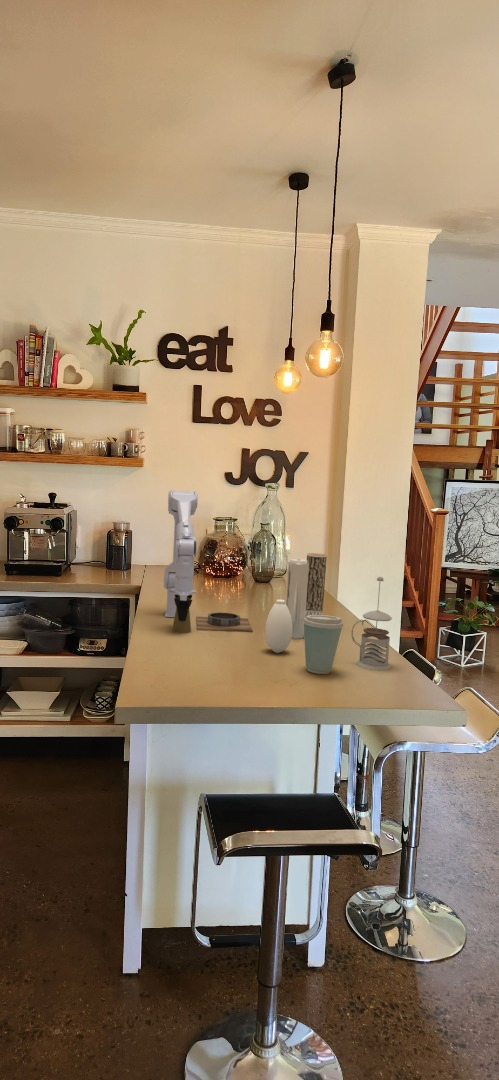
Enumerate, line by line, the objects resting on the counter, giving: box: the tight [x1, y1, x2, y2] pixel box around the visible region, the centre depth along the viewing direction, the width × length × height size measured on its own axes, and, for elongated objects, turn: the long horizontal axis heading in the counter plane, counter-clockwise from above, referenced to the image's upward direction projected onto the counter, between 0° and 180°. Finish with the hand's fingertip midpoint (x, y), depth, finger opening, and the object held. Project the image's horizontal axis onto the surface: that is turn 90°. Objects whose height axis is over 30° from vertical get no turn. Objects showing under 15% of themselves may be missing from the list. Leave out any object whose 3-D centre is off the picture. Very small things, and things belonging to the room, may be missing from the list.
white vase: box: [264, 591, 292, 654], centre depth 199 cm, size 8×8×18 cm
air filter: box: [285, 558, 309, 640], centre depth 219 cm, size 6×6×25 cm
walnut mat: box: [196, 615, 253, 633], centre depth 231 cm, size 18×18×1 cm
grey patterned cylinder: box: [305, 552, 328, 617], centre depth 237 cm, size 7×7×25 cm
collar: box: [207, 611, 241, 627], centre depth 231 cm, size 11×11×2 cm
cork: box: [171, 597, 192, 634], centre depth 218 cm, size 6×6×11 cm
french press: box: [351, 576, 393, 671], centre depth 191 cm, size 10×12×25 cm
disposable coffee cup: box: [303, 614, 344, 675], centre depth 182 cm, size 11×11×15 cm
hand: (182, 618), depth 218 cm, fingers closed on cork, 5 cm apart
